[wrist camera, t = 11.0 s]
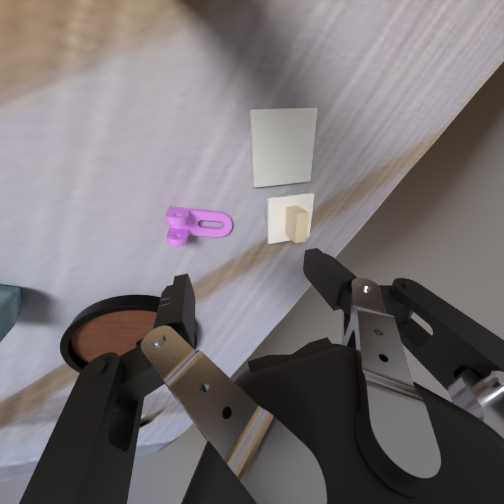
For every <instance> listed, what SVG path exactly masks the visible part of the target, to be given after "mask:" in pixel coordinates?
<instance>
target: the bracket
mask: <svg viewBox="0 0 504 504" xmlns="http://www.w3.org/2000/svg"><path fill="white" fill-rule="evenodd" d="M200 220H208V221H219V222H223V226H222V227H207V226H200V225H199V224H198V222H199V221H200ZM166 222H167V223H168V224H170V228H169V231H168V234H167V243H168V244H169V245H171V246H176V247H179V246H184V245H186V244H187V243H188V236H190V235H193V236H209V237H223V236H226V235H227V234H229V233H230V231H231V229H232V221H231V219H230V217H229V216H228V215H227V214H226V213H224V212H219V211H209V210H200V209H190V208H181V207H171V206H170V207H169V209H168V211H167V213H166Z"/></svg>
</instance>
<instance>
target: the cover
mask: <svg viewBox="0 0 504 504" xmlns="http://www.w3.org/2000/svg"><path fill="white" fill-rule="evenodd" d="M314 194H315V193H306V194H298V195H289V196H281V197H273V198H267V224H268V244H272V243H278V242H284V241H290V240H292V241H293V242H294V243H300V242H306V238H307V237H309V235H310V226H311V218H312V210H313V202H314Z"/></svg>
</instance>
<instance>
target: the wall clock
mask: <svg viewBox="0 0 504 504" xmlns="http://www.w3.org/2000/svg"><path fill="white" fill-rule="evenodd" d="M160 299H161V298H160V297H156V296H149V295H124V296H117V297H112V298H109V299H105V300H102V301H99V302H97V303H95V304H93V305H91V306H89V307H87V308H86V309H84V310H83V311H82V312H81V313H80V314H79V315H78V316H77V317H76V318H75V319H74V320H73V322H72V323H71V324H70V326H69V327H68V329H67V330H66V331H65V333H64V335H63V336H62V339H61V342H60V352H61V355H62V357H63V359H64V360H65V362H66V363H67V364H68V365H69V366H70V367H71V368H73V369H74V370H76V371H77V372H79V373H81V371H82V370H83V369H84V367H85V366H86V365H87V364H88V363H89V362H91V361H92V360H93V359H95V358H96V357H98V356H100V355H102V354H104V353H108V352H114V353H117V354H118V355H119V356H121V355H122V354H124V353H126V352H128V351H130V350H132V349H134V348H136V347H137V346H139V345H141V343H142V341H143V339H144V337H145V336H146V335H147V334H148V333H149V332H150V331H151V330H153V327H154V323H155V319H156V315H157V311H158V307H159V303H160ZM196 346H197V324H196V321H195V335H194V350H195V349H196Z"/></svg>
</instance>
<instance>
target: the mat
mask: <svg viewBox="0 0 504 504" xmlns="http://www.w3.org/2000/svg"><path fill="white" fill-rule="evenodd" d="M317 112H318V108H287V109H250V110H249V118H250V138H251V157H252V177H253V187H254V188H255V187H264V186H273V185H282V184H291V183H300V182H309V181H310V179H311V169H312V160H313V150H314V140H315V131H316V121H317Z"/></svg>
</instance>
